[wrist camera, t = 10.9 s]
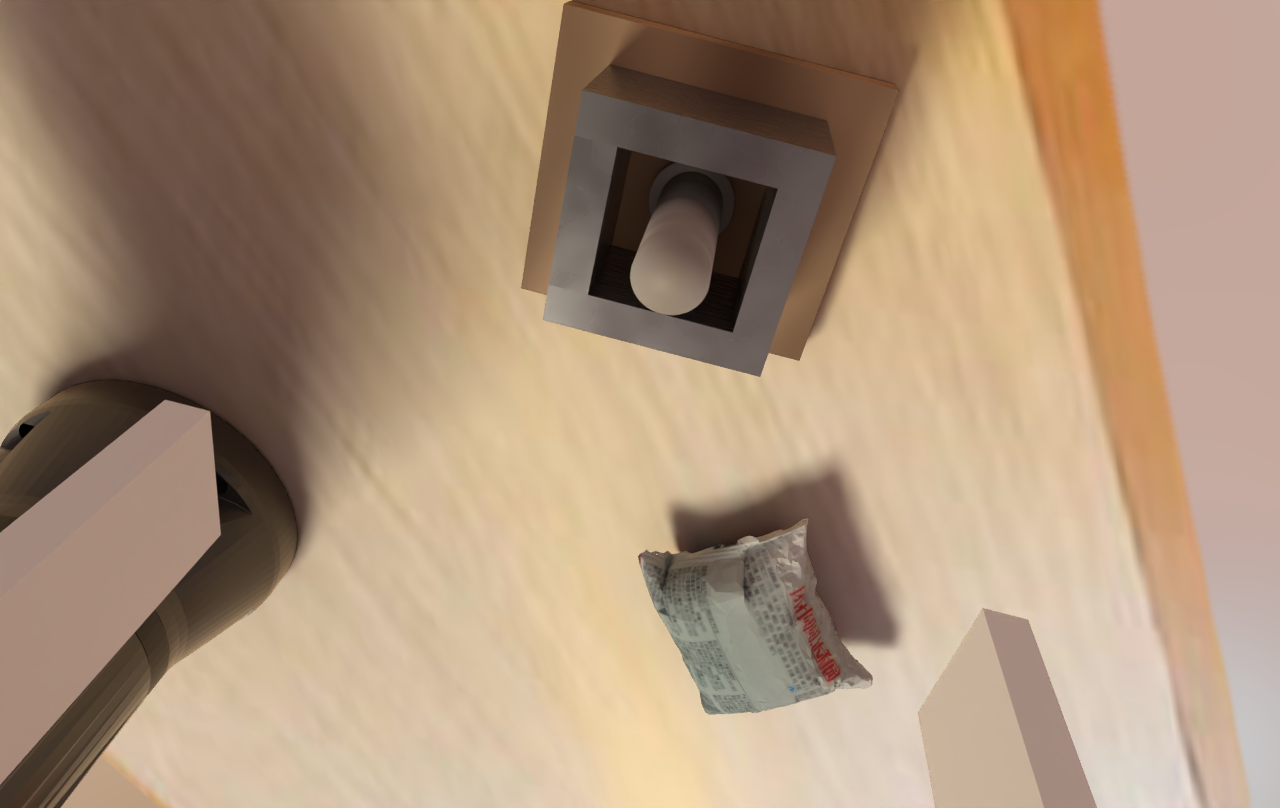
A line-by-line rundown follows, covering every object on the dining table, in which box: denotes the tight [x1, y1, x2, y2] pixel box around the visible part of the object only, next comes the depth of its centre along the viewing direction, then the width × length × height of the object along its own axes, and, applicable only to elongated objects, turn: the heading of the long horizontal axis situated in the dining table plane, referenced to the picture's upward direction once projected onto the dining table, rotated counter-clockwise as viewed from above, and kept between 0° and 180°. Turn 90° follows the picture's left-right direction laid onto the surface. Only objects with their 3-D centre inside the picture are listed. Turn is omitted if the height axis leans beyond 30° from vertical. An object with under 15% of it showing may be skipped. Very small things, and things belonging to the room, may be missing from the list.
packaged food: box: [638, 518, 873, 714], centre depth 41 cm, size 9×12×5 cm
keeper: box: [521, 1, 899, 361], centre depth 28 cm, size 12×11×9 cm
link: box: [543, 64, 836, 377], centre depth 29 cm, size 8×8×5 cm
